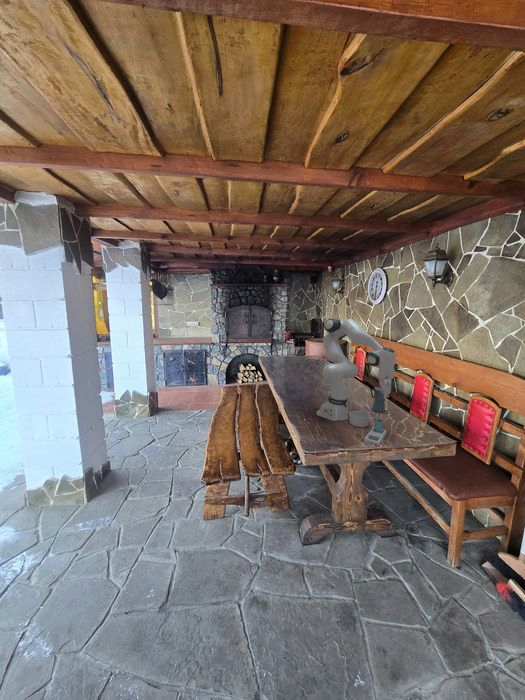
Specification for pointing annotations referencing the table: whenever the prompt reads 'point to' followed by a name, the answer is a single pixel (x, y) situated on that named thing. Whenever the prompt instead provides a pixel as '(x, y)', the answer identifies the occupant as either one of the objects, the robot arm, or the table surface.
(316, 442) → the table surface
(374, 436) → the socket panel
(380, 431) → the teal plug
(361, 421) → the ramekin
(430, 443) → the table surface
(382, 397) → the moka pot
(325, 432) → the table surface
